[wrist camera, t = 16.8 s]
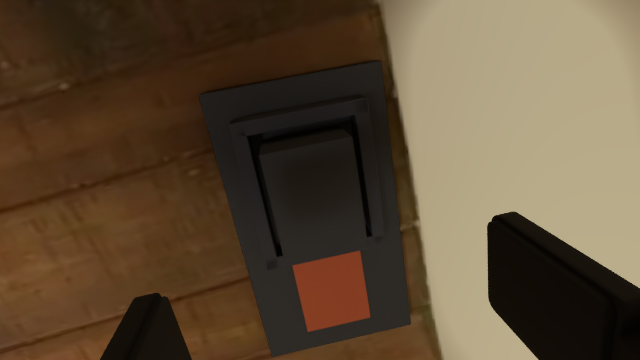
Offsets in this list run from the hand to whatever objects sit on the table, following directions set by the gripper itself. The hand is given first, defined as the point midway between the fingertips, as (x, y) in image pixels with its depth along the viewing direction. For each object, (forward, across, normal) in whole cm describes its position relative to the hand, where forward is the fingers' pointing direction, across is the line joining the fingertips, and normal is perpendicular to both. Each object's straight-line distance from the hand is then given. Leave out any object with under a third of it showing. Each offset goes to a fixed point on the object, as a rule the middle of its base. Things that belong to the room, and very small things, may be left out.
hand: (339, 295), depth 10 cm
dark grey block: (+11, 0, 0) cm, 11 cm away
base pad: (+12, 0, +4) cm, 13 cm away
